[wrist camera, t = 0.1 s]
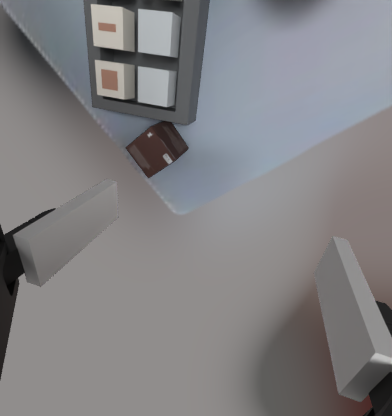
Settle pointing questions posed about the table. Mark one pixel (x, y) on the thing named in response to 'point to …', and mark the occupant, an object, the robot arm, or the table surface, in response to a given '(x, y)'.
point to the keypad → (156, 59)
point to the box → (157, 148)
